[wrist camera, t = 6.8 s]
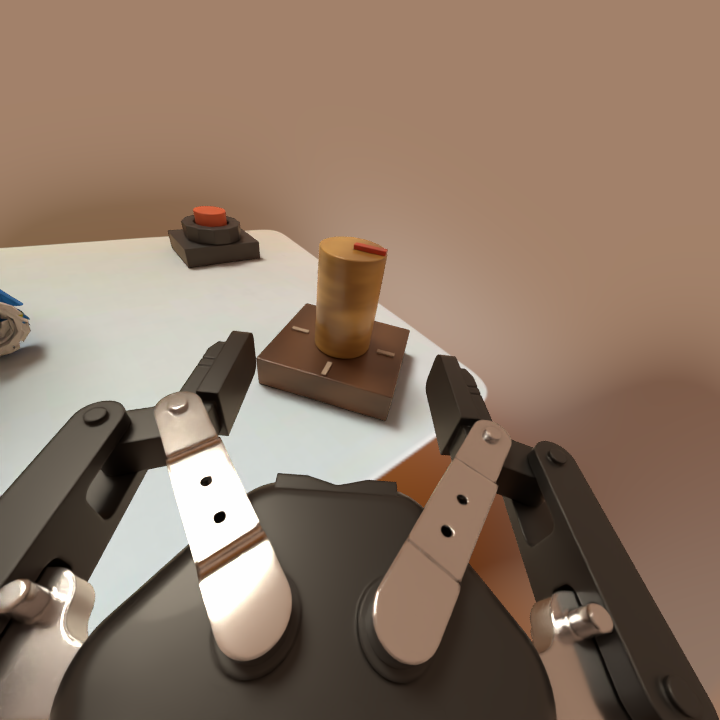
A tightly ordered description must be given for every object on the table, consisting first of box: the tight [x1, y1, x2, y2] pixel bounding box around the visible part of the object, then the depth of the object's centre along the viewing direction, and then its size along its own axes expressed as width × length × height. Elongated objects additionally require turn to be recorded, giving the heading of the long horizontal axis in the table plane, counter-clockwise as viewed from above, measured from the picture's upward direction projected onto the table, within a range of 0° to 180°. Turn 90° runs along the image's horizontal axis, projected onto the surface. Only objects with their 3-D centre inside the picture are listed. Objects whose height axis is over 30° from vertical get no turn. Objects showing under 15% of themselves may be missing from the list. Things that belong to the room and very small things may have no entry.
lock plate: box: [256, 303, 410, 421], centre depth 24 cm, size 10×9×3 cm
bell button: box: [193, 206, 227, 227], centre depth 37 cm, size 4×4×2 cm
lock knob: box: [315, 237, 388, 359], centre depth 21 cm, size 4×4×8 cm
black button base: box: [168, 215, 260, 267], centre depth 38 cm, size 9×7×4 cm
